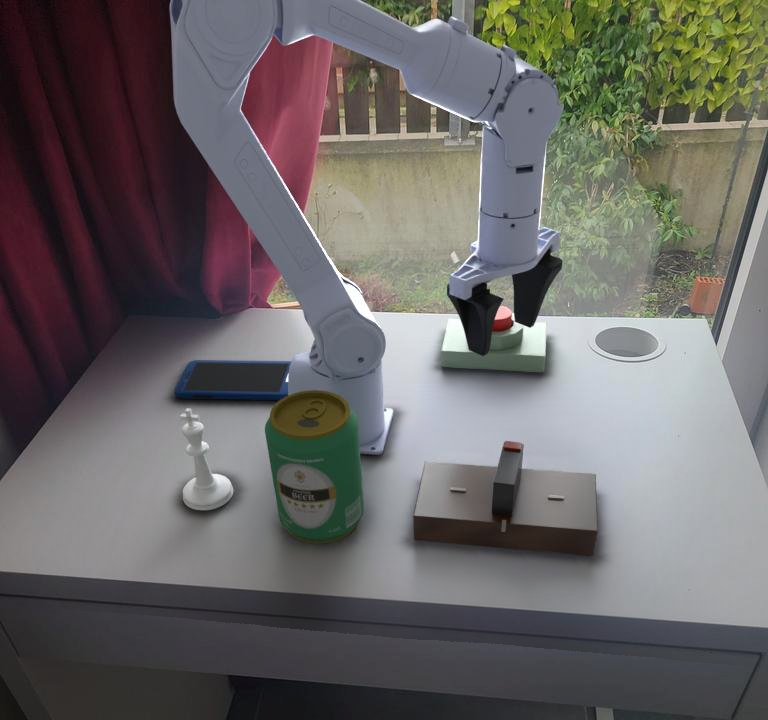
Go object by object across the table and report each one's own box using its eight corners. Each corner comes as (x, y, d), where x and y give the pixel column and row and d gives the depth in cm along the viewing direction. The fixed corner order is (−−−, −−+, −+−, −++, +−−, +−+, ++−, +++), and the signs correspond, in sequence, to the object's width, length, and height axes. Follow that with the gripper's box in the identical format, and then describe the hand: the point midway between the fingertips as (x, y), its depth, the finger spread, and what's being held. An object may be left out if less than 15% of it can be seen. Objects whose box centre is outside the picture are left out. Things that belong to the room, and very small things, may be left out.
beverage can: (268, 540, 75) (248, 434, 67) (295, 486, 81) (280, 382, 73) (351, 552, 73) (342, 445, 65) (373, 496, 79) (367, 391, 71)
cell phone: (292, 400, 92) (291, 395, 91) (172, 398, 93) (171, 393, 93) (303, 366, 97) (302, 360, 97) (190, 365, 99) (188, 359, 98)
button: (479, 332, 95) (479, 318, 94) (481, 317, 98) (482, 304, 96) (510, 333, 94) (511, 320, 93) (511, 319, 97) (512, 305, 96)
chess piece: (223, 513, 78) (203, 427, 71) (175, 507, 79) (151, 423, 72) (240, 481, 82) (223, 396, 75) (194, 476, 82) (173, 392, 76)
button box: (440, 367, 96) (441, 337, 94) (448, 333, 102) (448, 304, 100) (543, 372, 94) (546, 342, 92) (545, 338, 100) (548, 308, 98)
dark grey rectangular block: (511, 516, 71) (514, 482, 69) (491, 513, 72) (493, 479, 69) (521, 474, 76) (524, 441, 73) (501, 472, 76) (504, 439, 74)
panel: (411, 548, 73) (411, 522, 71) (426, 478, 81) (426, 452, 79) (593, 565, 71) (598, 538, 69) (591, 490, 78) (595, 464, 76)
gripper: (523, 176, 82) (514, 300, 90) (425, 219, 74) (426, 351, 83) (582, 192, 78) (567, 321, 87) (485, 240, 70) (479, 375, 79)
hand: (501, 337), depth 85 cm, fingers open, 7 cm apart
